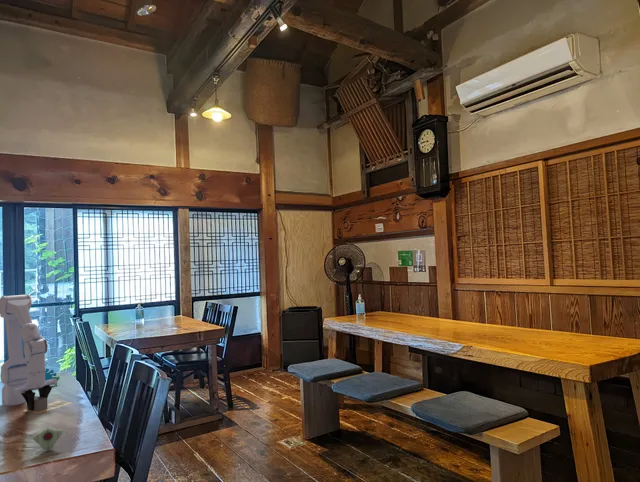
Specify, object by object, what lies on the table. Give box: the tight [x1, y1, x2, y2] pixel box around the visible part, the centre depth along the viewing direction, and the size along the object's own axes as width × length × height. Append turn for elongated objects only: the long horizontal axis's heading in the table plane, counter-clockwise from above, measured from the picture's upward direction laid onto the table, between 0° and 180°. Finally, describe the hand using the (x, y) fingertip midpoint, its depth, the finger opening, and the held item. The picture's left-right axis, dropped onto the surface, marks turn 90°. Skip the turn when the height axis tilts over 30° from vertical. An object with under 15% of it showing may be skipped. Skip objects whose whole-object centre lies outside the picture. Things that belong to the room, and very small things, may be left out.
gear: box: [45, 368, 61, 382], centre depth 210 cm, size 11×6×10 cm
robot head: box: [31, 427, 64, 451], centre depth 133 cm, size 8×4×7 cm, turn 121°
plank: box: [23, 400, 72, 415], centre depth 173 cm, size 10×13×1 cm
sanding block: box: [26, 395, 48, 414], centre depth 169 cm, size 7×4×4 cm, turn 62°
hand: (37, 408), depth 169 cm, fingers closed on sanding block, 4 cm apart
